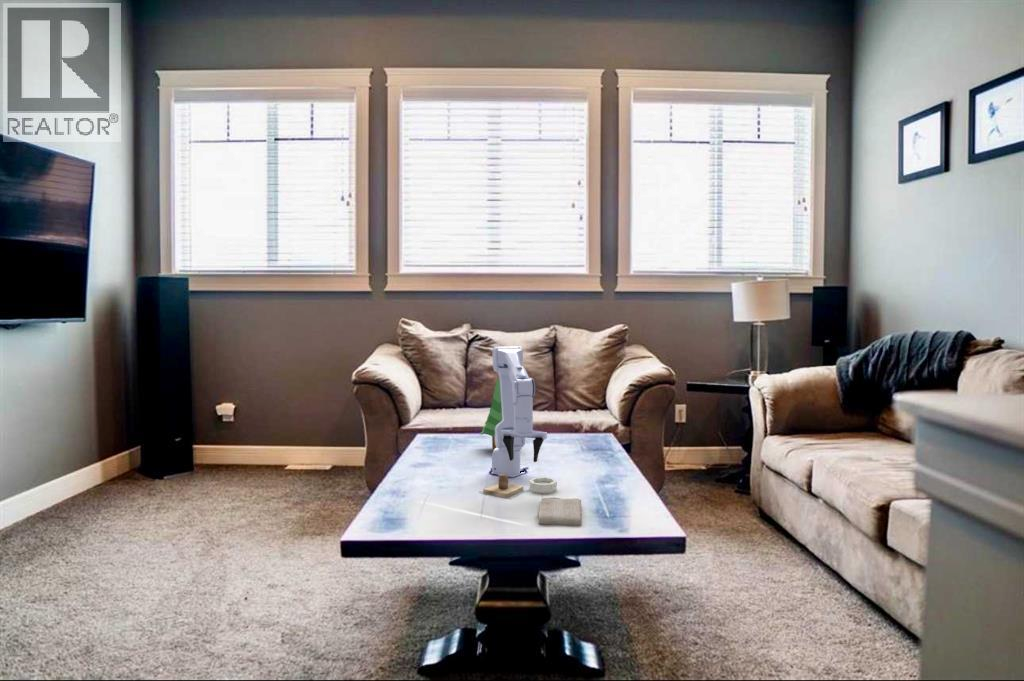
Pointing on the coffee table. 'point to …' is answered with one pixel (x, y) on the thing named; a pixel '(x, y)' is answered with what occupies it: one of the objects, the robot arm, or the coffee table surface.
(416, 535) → the coffee table surface
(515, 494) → the mat
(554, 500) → the washcloth
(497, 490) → the lid
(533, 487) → the bowl
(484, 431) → the decorative tree
